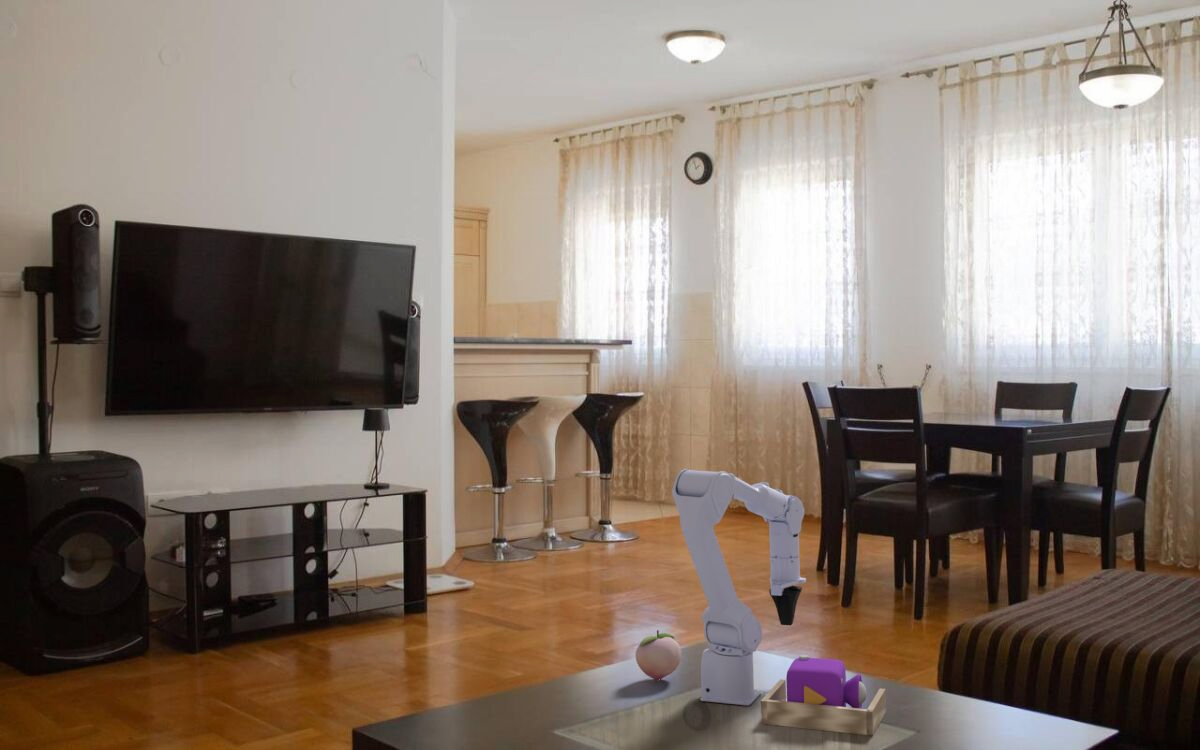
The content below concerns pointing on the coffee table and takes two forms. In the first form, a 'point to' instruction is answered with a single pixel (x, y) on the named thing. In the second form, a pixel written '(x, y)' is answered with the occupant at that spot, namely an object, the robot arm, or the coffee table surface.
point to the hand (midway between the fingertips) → (786, 624)
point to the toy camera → (823, 683)
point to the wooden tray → (821, 713)
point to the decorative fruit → (658, 655)
